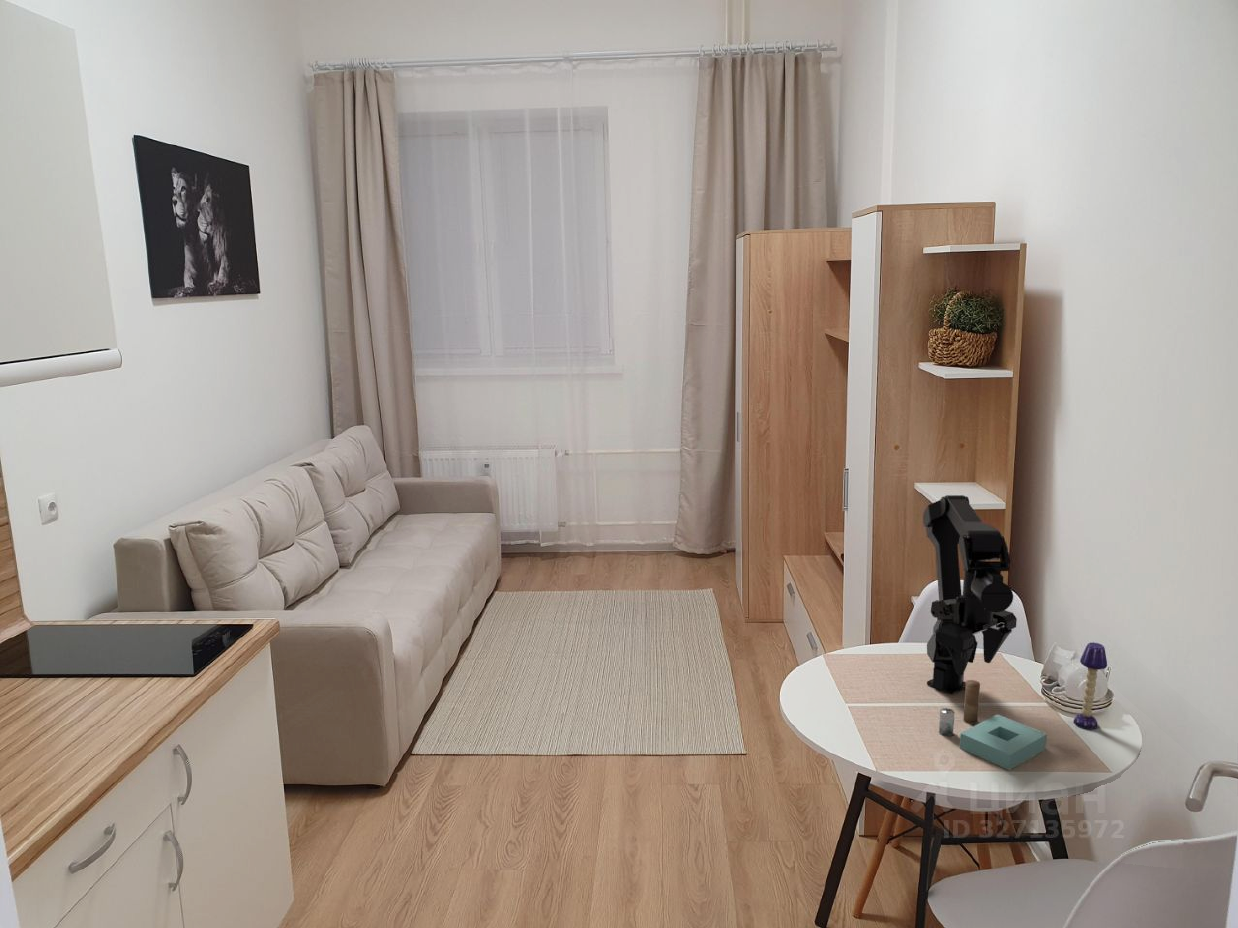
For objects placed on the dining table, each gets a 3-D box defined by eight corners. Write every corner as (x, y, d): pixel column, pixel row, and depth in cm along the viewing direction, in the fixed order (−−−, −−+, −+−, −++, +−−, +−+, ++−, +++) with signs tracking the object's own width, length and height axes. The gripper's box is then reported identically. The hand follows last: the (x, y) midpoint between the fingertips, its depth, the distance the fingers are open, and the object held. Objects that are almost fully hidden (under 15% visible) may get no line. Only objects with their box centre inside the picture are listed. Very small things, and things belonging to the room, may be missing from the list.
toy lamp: (1099, 721, 184) (1106, 641, 180) (1102, 732, 180) (1110, 650, 176) (1072, 717, 185) (1079, 638, 182) (1075, 728, 181) (1082, 647, 178)
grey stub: (944, 728, 182) (945, 706, 181) (956, 733, 180) (957, 711, 179) (936, 732, 181) (937, 710, 180) (947, 737, 179) (949, 715, 178)
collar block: (996, 728, 182) (997, 714, 181) (1045, 748, 174) (1046, 734, 173) (959, 747, 175) (960, 733, 174) (1009, 769, 167) (1010, 754, 166)
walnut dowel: (968, 716, 187) (970, 678, 185) (980, 720, 185) (982, 683, 183) (960, 719, 185) (963, 682, 184) (972, 724, 183) (974, 686, 182)
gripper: (969, 572, 191) (965, 643, 195) (912, 592, 181) (909, 667, 184) (1020, 586, 182) (1014, 661, 186) (963, 608, 172) (958, 687, 175)
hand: (973, 668), depth 183 cm, fingers open, 9 cm apart
